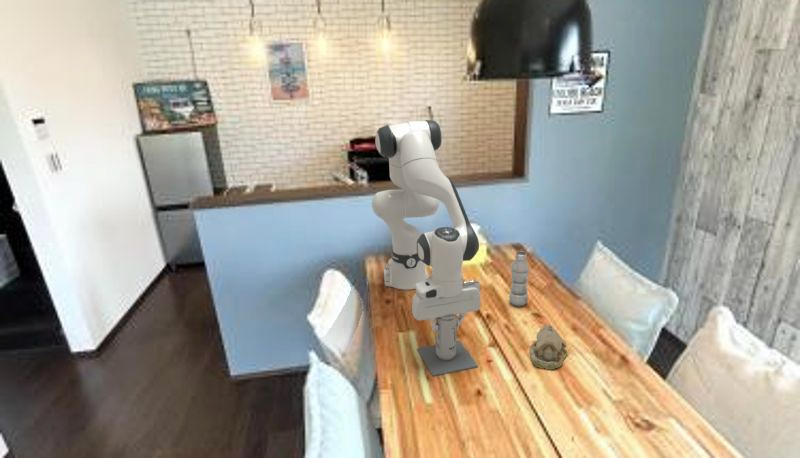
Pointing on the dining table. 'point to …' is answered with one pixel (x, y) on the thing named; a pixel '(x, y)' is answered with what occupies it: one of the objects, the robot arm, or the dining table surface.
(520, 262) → the plastic bottle
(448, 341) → the energy drink can
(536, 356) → the ceramic model
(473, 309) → the robot arm
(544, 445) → the dining table surface
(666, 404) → the dining table surface
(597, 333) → the dining table surface
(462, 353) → the mat
